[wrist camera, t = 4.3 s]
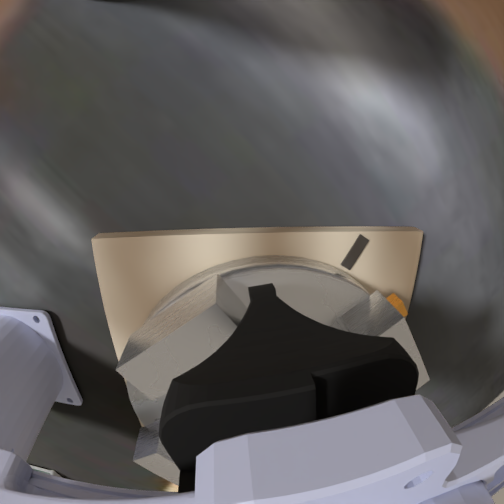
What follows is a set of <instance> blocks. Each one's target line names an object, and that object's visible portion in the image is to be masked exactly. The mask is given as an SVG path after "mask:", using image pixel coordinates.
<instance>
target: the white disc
mask: <svg viewBox="0 0 504 504" xmlns="http://www.w3.org/2000/svg"><path fill="white" fill-rule="evenodd" d="M269 283H273V285H274V287H275V289H276V296H278V297H279V298H280V299H281V300H282V301H284V302H285V303H286V304H287V305H289V306H290V307H292V308H293V309H294V310H296V311H298V312H299V313H301V314H303V315H305V316H306V317H309V318H311V319H313V320H315V321H317V322H319V323H322V324H324V325H327V326H330V327H333V328H336V329H340V330H343V331H347V332H352V333H357V334H362V335H369V336H380V337H392V338H394V339H395V340H396V341H397V342H398V343H399V344H400V345H401V346H402V347H403V348H404V349H405V350H406V352H407V353H408V354H409V355H410V357H411V358H412V359H413V361H414V362H415V363H416V365H417V368H418V371H419V378H418V384H417V388H416V390H417V389H418V388H420V387H421V386H422V385H424V384H425V383H426V382H428V381H429V380H430V379H429V376H428V374H427V371H426V368H425V366H424V363H423V361H422V358H421V356H420V353H419V351H418V348H417V346H416V344H415V341H414V339H413V336H412V334H411V332H410V329H409V327H408V325H407V323H406V320H405V318H404V317H405V316H406V315H407V314H408V313H407V310H406V308H405V306H404V304H403V301H402V300H401V299H399V298H398V297H397V296H396V295H395V294H394V293H393V294H391V295H390V296H389V297H387V298H385V297H384V296H383V295H382V294H381V293H380V292H379V291H378V290H376V291H375V292H374V293H372V294H370V293H369V292H368V291H367V290H366V289H365V288H364V287H363V286H362V285H361V284H360V283H359V282H357V281H356V280H355V279H353V278H352V277H351V276H349V275H348V274H346V273H344V272H343V271H341V270H339V269H337V268H335V267H333V266H330V265H327V264H325V263H322V262H319V261H316V260H312V259H306V258H301V257H296V256H282V255H268V256H253V257H247V258H242V259H237V260H232V261H228V262H225V263H222V264H219V265H216V266H213V267H210V268H208V269H206V270H204V271H202V272H199V273H197V274H195V275H193V276H191V277H190V278H188V279H187V280H185V281H183V282H182V283H180V284H179V285H177V286H176V287H175V288H173V289H172V290H171V291H170V292H169V293H168V294H166V295H165V296H164V297H163V298H162V299H161V300H160V301H159V303H158V304H157V305H156V306H155V307H154V308H153V309H152V311H151V312H150V314H149V316H148V317H147V319H146V320H145V322H144V324H143V326H142V327H140V328H139V329H138V330H136V331H135V332H133V333H132V334H131V335H130V337H129V339H128V342H127V344H126V346H125V348H124V351H123V353H122V355H121V358H120V360H119V362H118V365H117V367H116V371H117V372H118V373H120V374H121V375H122V376H123V377H124V378H125V379H126V380H127V390H128V394H129V399H130V402H131V404H132V406H133V409H134V411H135V413H136V414H137V416H138V418H139V419H140V421H141V422H142V424H143V425H144V427H142V428H140V430H139V435H138V439H137V444H136V449H135V453H134V458H133V461H134V462H136V463H137V464H139V465H141V466H142V467H144V468H146V469H148V470H149V471H151V472H153V473H155V474H157V475H159V476H160V477H162V478H164V479H166V480H168V481H170V482H172V483H174V484H176V485H178V486H179V475H180V470H179V469H178V467H177V466H176V464H175V463H174V462H173V460H172V459H171V457H170V456H169V454H168V453H167V451H166V450H165V448H164V447H163V445H162V443H161V441H160V438H159V436H158V434H159V424H160V418H161V412H162V407H163V403H164V400H165V397H166V394H167V392H168V389H169V387H170V384H171V381H172V379H174V378H176V377H178V376H180V375H181V374H183V373H185V372H187V371H188V370H190V369H192V368H194V367H195V366H197V365H198V364H200V363H201V362H203V361H204V360H205V359H207V358H208V357H209V356H211V355H212V354H213V353H214V352H215V351H217V350H218V349H219V348H220V347H221V346H222V345H223V344H224V343H225V342H226V341H227V340H228V338H229V337H230V336H231V335H232V333H233V332H234V331H235V329H236V328H237V326H238V325H239V323H240V322H241V320H242V318H243V316H244V314H245V313H246V311H247V308H248V306H249V304H250V297H249V291H248V287H251V286H257V285H263V284H269Z"/></svg>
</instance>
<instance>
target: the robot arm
mask: <svg viewBox="0 0 504 504" xmlns="http://www.w3.org/2000/svg"><path fill="white" fill-rule="evenodd" d="M248 291H249V297H250V304H249V306H248V308H247V311H246V313H245V314H244V316H243V318H242V320H241V322H240V323H239V325H238V326H237V328H236V329H235V331H234V332H233V333H232V335H231V336H230V337H229V338H228V340H227V341H226V342H225V343H224V344H223V345H222V346H221V347H220V348H219V349H218V350H217V351H215V352H214V353H213V354H212V355H211V356H209V357H208V358H207V359H205V360H204V361H203V362H201V363H200V364H198V365H197V366H195V367H194V368H192V369H190V370H188V371H187V372H185V373H183V374H181V375H180V376H178V377H176V378H174V379H172V381H171V384H170V387H169V389H168V392H167V394H166V397H165V400H164V403H163V407H162V412H161V418H160V424H159V434H158V436H159V438H160V441H161V443H162V445H163V447H164V448H165V450H166V451H167V453H168V454H169V456H170V457H171V459H172V460H173V462H174V463H175V464H176V466H177V467H178V469H179V470H180V475H179V488H178V492H160V491H144V490H133V489H123V488H115V487H108V486H102V485H95V484H90V483H85V482H79V481H75V480H70V479H66V478H61V477H57V476H54V475H50V474H46V473H42V472H39V471H36V470H33V469H32V467H31V466H30V465H29V464H28V463H27V462H26V460H27V458H28V456H29V453H30V451H31V449H32V447H33V445H34V442H35V440H36V438H37V436H38V434H39V432H40V430H41V428H42V426H43V424H44V422H45V420H46V418H47V416H48V414H49V412H50V410H51V408H52V406H53V404H54V402H55V401H56V402H61V403H66V404H71V405H77V406H80V405H81V404H82V402H83V399H82V397H81V395H80V393H79V391H78V388H77V386H76V384H75V382H74V379H73V377H72V375H71V372H70V370H69V367H68V365H67V362H66V360H65V357H64V355H63V352H62V349H61V347H60V344H59V341H58V338H57V336H56V333H55V330H54V327H53V324H52V321H51V318H50V315H49V314H48V313H47V312H46V311H43V310H33V309H20V308H9V307H0V504H495V503H494V501H493V499H492V496H493V495H494V494H496V493H497V492H498V491H499V490H500V489H502V488H503V487H504V397H503V398H502V399H500V400H499V401H497V402H495V403H494V404H492V405H491V406H489V407H488V408H486V409H484V410H483V411H481V412H479V413H478V414H476V415H474V416H473V417H471V418H469V419H467V420H466V421H464V422H462V423H460V424H458V425H456V426H454V427H453V428H451V427H450V426H449V424H448V423H447V421H446V420H445V418H444V417H443V416H442V414H441V413H440V411H439V410H438V408H437V407H436V406H435V404H434V403H433V401H431V400H429V399H427V398H425V397H423V396H421V395H415V391H416V388H417V384H418V378H419V371H418V368H417V365H416V363H415V362H414V361H413V359H412V358H411V357H410V355H409V354H408V353H407V352H406V350H405V349H404V348H403V347H402V346H401V345H400V344H399V343H398V342H397V341H396V340H395V339H394V338H392V337H380V336H369V335H362V334H357V333H352V332H347V331H343V330H340V329H336V328H333V327H330V326H327V325H324V324H322V323H319V322H317V321H315V320H313V319H311V318H309V317H306V316H305V315H303V314H301V313H299V312H298V311H296V310H294V309H293V308H292V307H290V306H289V305H287V304H286V303H285V302H284V301H282V300H281V299H280V298H279V297H278V296H276V289H275V287H274V285H273V283H269V284H263V285H257V286H251V287H248ZM36 316H37V317H38V318H39V319H38V318H37V317H36Z"/></svg>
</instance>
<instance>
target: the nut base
mask: <svg viewBox="0 0 504 504" xmlns="http://www.w3.org/2000/svg"><path fill="white" fill-rule="evenodd" d="M422 237H423V231H421V230H419V229H417V228H415V227H386V226H333V227H257V228H217V229H186V230H159V231H136V232H115V233H99V234H97V235H96V236H95V237H93V238H92V239H91V240H92V246H93V253H94V259H95V265H96V270H97V276H98V281H99V286H100V291H101V295H102V300H103V304H104V309H105V313H106V317H107V321H108V325H109V329H110V333H111V337H112V340H113V344H114V347H115V351H116V354H117V358H118V361H119V360H120V358H121V355H122V353H123V351H124V348H125V346H126V344H127V342H128V339H129V337H130V335H131V334H132V333H133V332H135V331H136V330H138V329H139V328H140V327H142V326H143V324H144V322H145V320H146V319H147V317H148V316H149V314H150V312H151V311H152V309H153V308H154V307H155V306H156V305H157V304H158V303H159V301H160V300H161V299H162V298H163V297H164V296H165V295H166V294H168V293H169V292H170V291H171V290H172V289H173V288H175V287H176V286H177V285H179V284H180V283H182V282H183V281H185V280H187V279H188V278H190V277H191V276H193V275H195V274H197V273H199V272H202V271H204V270H206V269H208V268H210V267H213V266H216V265H219V264H222V263H225V262H228V261H232V260H237V259H242V258H247V257H253V256H268V255H282V256H296V257H301V258H306V259H312V260H316V261H319V262H322V263H325V264H327V265H330V266H333V267H335V268H337V269H339V270H341V271H343V272H344V273H346V274H348V275H349V276H351V277H352V278H353V279H355V280H356V281H357V282H359V283H360V284H361V285H362V286H363V287H364V288H365V289H366V290H367V291H368V292H369V293H370V294H372V293H374V292H375V291H376V290H378V291H379V292H380V293H381V294H382V295H383V296H384V297H385V298H387V297H389V296H390V295H391V294H393V293H394V294H395V295H396V296H397V297H398V298H399V299H401V300H402V301H403V304H404V306H405V308H406V310H407V313H408V309H409V305H410V301H411V296H412V292H413V287H414V283H415V278H416V273H417V267H418V262H419V256H420V250H421V244H422ZM406 317H407V315H406V316H405V317H404V318H405V320H406ZM124 380H125V383H126V386H127V380H126V379H125V378H124ZM138 419H139V418H138ZM139 421H140V419H139ZM140 424H141V426H142V427H144V425H143V424H142V422H141V421H140Z"/></svg>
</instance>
